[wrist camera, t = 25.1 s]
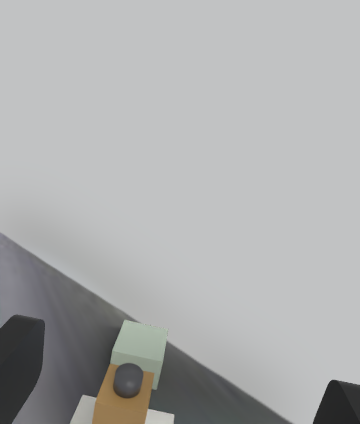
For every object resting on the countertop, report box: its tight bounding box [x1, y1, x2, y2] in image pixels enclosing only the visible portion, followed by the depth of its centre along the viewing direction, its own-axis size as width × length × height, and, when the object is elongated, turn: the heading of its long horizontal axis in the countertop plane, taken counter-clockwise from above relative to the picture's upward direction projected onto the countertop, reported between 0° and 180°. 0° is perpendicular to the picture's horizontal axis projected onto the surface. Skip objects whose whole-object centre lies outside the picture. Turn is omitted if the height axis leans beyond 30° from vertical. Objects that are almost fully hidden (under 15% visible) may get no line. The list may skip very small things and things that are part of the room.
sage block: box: [110, 320, 168, 390], centre depth 46 cm, size 7×7×5 cm
